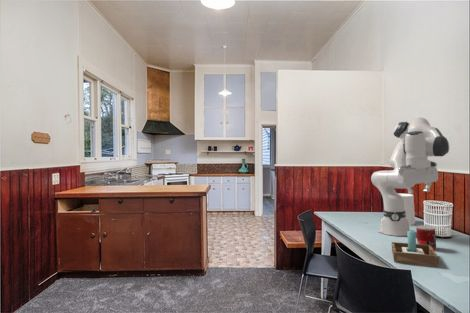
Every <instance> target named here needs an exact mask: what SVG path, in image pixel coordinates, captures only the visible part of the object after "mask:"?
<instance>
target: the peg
mask: <svg viewBox="0 0 470 313" xmlns="http://www.w3.org/2000/svg"><path fill="white" fill-rule="evenodd" d="M406 237H407V243H408V252H417V250H416V244H417V232H416V231H413V230H410V231H407V236H406Z"/></svg>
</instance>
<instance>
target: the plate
mask: <svg viewBox="0 0 470 313" xmlns="http://www.w3.org/2000/svg"><path fill="white" fill-rule="evenodd" d="M416 250H417V252H408V247H402V252H406V253H416V254H424V252H423V250H422V249H419V248H416Z"/></svg>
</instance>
